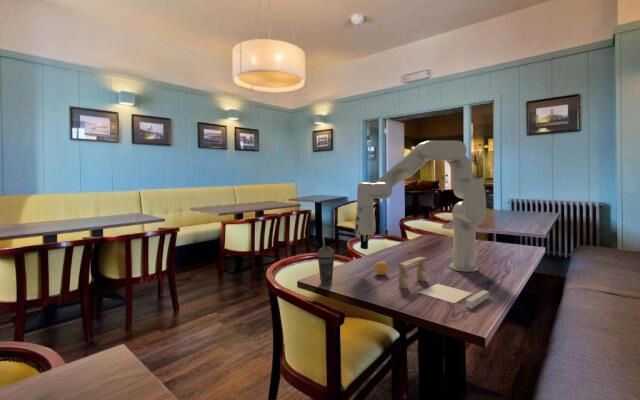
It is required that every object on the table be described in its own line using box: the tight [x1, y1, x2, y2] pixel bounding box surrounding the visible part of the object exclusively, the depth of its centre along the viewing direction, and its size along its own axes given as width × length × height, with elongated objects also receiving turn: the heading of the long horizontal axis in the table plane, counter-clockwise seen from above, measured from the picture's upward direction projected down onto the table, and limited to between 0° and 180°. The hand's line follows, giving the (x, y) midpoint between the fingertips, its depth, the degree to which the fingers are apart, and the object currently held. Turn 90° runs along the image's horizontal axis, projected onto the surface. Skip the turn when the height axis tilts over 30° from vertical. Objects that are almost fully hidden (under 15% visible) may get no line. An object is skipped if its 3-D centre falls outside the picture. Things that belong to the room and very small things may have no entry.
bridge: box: [398, 256, 427, 290], centre depth 134 cm, size 3×15×10 cm, turn 131°
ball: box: [374, 260, 390, 276], centre depth 146 cm, size 6×6×6 cm
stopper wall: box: [465, 289, 490, 310], centre depth 114 cm, size 14×2×2 cm, turn 131°
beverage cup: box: [317, 235, 336, 287], centre depth 134 cm, size 7×7×20 cm
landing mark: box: [418, 283, 473, 304], centre depth 124 cm, size 14×14×1 cm
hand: (364, 248), depth 152 cm, fingers closed
